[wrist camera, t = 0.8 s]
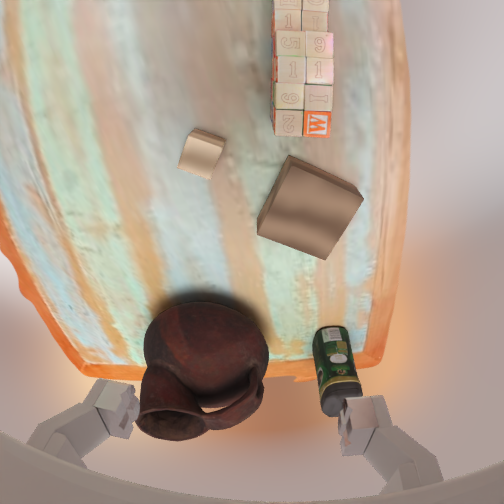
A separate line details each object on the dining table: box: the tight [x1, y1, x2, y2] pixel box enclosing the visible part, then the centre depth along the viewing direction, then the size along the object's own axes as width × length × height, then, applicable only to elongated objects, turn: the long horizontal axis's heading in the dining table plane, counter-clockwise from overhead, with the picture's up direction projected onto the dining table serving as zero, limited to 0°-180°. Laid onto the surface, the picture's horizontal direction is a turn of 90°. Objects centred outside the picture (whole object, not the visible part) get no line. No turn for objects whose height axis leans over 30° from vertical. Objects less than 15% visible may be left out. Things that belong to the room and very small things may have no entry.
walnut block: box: [257, 155, 364, 260], centre depth 49 cm, size 12×12×5 cm
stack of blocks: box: [270, 0, 334, 138], centre depth 32 cm, size 21×6×12 cm, turn 0°
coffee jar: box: [313, 327, 363, 417], centre depth 61 cm, size 10×8×19 cm
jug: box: [135, 302, 269, 441], centre depth 57 cm, size 25×25×25 cm
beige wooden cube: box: [177, 129, 226, 180], centre depth 44 cm, size 5×5×5 cm
